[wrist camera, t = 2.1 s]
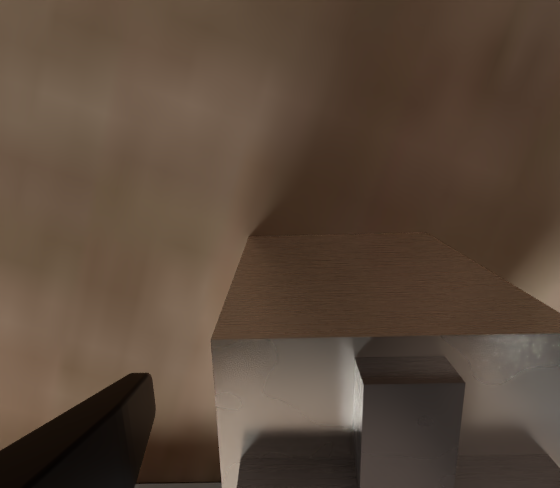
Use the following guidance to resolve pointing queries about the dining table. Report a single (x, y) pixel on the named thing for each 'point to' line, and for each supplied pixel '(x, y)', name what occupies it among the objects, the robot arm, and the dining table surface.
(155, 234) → the dining table surface
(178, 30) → the dining table surface
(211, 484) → the shaft bench
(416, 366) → the block
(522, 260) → the dining table surface
